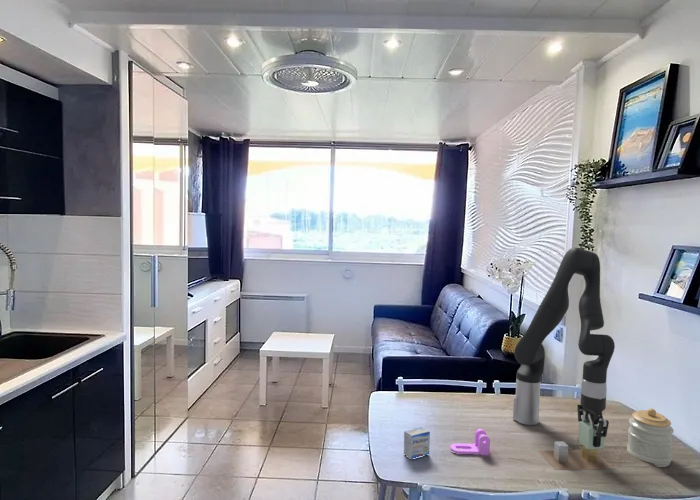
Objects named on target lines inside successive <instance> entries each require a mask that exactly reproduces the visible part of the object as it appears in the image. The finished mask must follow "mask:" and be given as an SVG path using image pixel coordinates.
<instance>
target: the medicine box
mask: <svg viewBox="0 0 700 500" xmlns="http://www.w3.org/2000/svg"><path fill="white" fill-rule="evenodd" d="M430 437H431V432H430V431H429V430H428V429H427V428H426V427H423V426H422V427H421V426H420V427H418V428H413V429H408V430H404V432H403V455H404V454H405V455H406V456H408V457H409V458H410V459H413V458H416V457H419V456H423V455H427V454H429V455H430V446H431V445H430V443H431V442H430V440H431V438H430ZM405 455H404V456H405ZM406 456H405V457H406ZM409 458H408V459H409ZM410 459H409V460H410Z"/></svg>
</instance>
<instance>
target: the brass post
mask: <svg viewBox="0 0 700 500" xmlns="http://www.w3.org/2000/svg"><path fill="white" fill-rule="evenodd" d="M581 445H582V444H581ZM581 450H582V457H583V458H584V459H585V460H586V461H587V462H593V461H596V460H597V454H598V449H587V448H586V447H585V446H584V445H582V446H581Z"/></svg>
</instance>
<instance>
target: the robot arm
mask: <svg viewBox="0 0 700 500" xmlns="http://www.w3.org/2000/svg"><path fill="white" fill-rule="evenodd" d="M600 262H601V261H600V258H599V256H598V254H597V253H595V252H594V251H590V250H586V249H583V248H579V247H571V248H569V249H568V250H567V251H566V252H565V254H564V256H563V257H562V259H561V261H560V264H559V267H558V269H557V271H556V274H555V276H554V278H553V281H552V282H551V284H550V287H549V288H548V290H547V292H546V294H545V296H544V297H543V299H542V301H541V303H540V304H539V306H538V308H537V310H536V312H535V314H534V316H533V317H532V320H531V321H530V324H529V326H528V327H527V329H526V331H525V333H524V334H523V335H522V336H521V338H520V339H519V341H518V342H517V343H516V345H515V347H514V350H513V351H514V352H513V353H514V354H513V355H514V359H515V360H516V362H517V363H518V364H520V366H519V368H518V369H517V371H516V380H515V395H514V397H513V410H512V420H513V421H516V422H517V423H519V424H522V425H526V426H536V425H538V424H539V422H540V404H541V383H542V382H541V381H542V377H543V374H544V369H545V361H546V360H545V358H546V353H545V347H544V344H543V342H544V341H545V339H546V338H547V337H548V336H549V335H550V334H551V333H552V332H553V331H554V330H555V329H556V328H557V327H558V325H559V324H560V323H561V321H562V320H563V319H564V317H565V315H566V314H567V311H568V310H569V307H570V298H569V284H570V282H571V280H572V278H573V276H574V275H578V276H579V275H580V276H583V278H584V279H583V280H584V285H585V287H584V290H583V292H582V294H581V296H580V298H579V301H578V311H579V319H580V331H579V333H580V334H579V337H578V343H577V344H578V349H579V351H580V352H581V354H583V355H585V356H595V357H596V356H597V357H596V359H592V360H587V361H585V362H584V363H583V366H582V379H581V386H580V388H581V389H580V404H577V420H578V421H577V422H579V421H583V422H590V425H591V428H592V429H593V434H594V435H593V446H594V447H600V445H601V437H605V438H606V437H607V435H608V434H607V433H608V430H609V424H610V423H609V420H607V419H604V416H603V412H604V411H605V410H606V409H607V408H606V407H607V389H608V388H607V374H608V368H609V365H610V361H611V359H612V357H613V355H614V352H615V348H616V347H615V341H614V339H613V338H612V336H611V335H608V334H598V333H595V334H594V333H591V332H592V331H595V330H600V329H602V328H603V327H604V326H605V319H604V315H603V309H602V303H601V263H600ZM597 424H599V426H594V425H597ZM596 429H598V431H597V432H596ZM602 431H603V433H602Z"/></svg>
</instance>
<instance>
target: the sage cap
mask: <svg viewBox="0 0 700 500" xmlns="http://www.w3.org/2000/svg"><path fill="white" fill-rule="evenodd" d="M594 426H599V424H597V425H594ZM597 431H598V429H596V432H597ZM602 433H603V431H602ZM593 435H594V434H593V429H592V428H591V425H590V422H583V421H578V438H577V439H578V440H577V441H578V442H579V443H580V444H581V445H584V446H585V447H586V448H587V449H597V450H601V449H605V439H606V437H601V445H600V447H594V446H593Z"/></svg>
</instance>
